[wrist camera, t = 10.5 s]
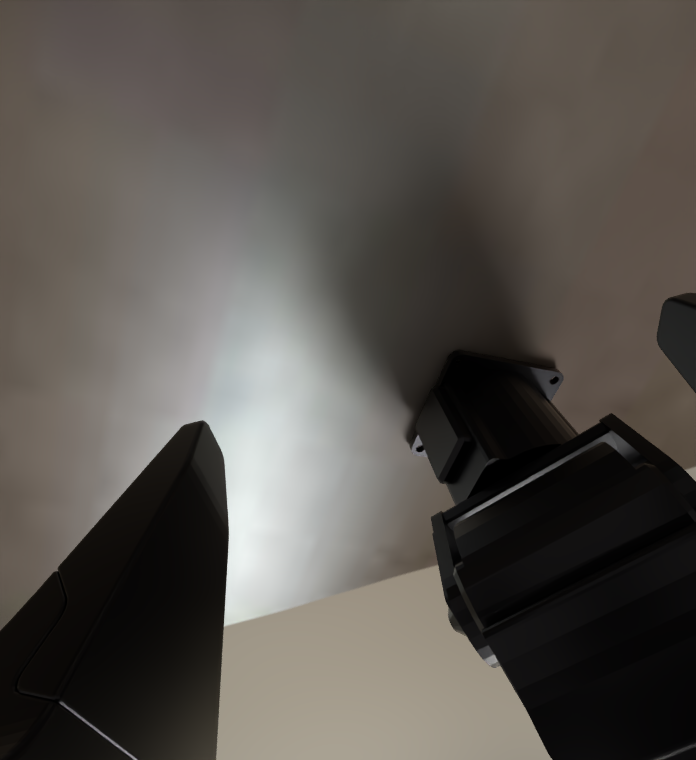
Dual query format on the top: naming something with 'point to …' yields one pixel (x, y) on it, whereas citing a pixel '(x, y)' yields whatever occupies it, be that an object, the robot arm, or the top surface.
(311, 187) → the top surface
